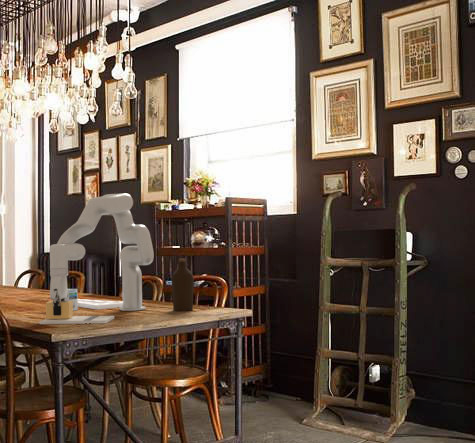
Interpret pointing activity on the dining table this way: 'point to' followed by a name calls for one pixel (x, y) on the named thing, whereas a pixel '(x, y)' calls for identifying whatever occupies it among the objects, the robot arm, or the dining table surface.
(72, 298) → the light bulb box
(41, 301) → the dining table surface
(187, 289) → the olive oil
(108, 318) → the white flat panel
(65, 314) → the tan rectangular block
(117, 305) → the holder
